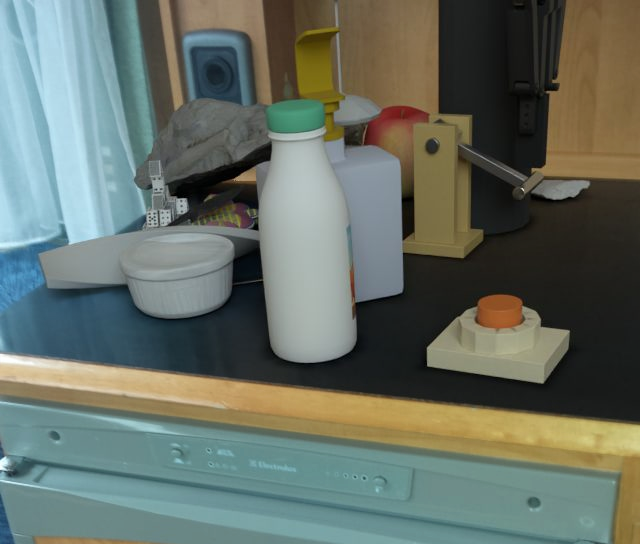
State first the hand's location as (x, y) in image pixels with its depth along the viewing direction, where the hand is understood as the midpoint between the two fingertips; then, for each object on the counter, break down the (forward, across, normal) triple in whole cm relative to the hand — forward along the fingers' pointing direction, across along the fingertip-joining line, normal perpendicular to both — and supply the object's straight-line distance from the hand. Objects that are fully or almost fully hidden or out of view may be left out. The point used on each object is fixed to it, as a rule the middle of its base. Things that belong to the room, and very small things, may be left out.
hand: (530, 165), depth 99 cm
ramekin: (+9, +23, -28) cm, 37 cm away
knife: (+9, +18, -24) cm, 31 cm away
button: (+6, +25, +6) cm, 26 cm away
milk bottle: (+9, +28, -10) cm, 31 cm away
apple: (+9, -16, -21) cm, 27 cm away
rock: (-3, -8, -31) cm, 32 cm away
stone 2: (+9, -20, -3) cm, 23 cm away
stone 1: (+5, -7, -40) cm, 41 cm away
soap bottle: (+9, +17, -14) cm, 23 cm away
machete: (+5, +8, -35) cm, 36 cm away
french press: (+9, +3, -20) cm, 22 cm away
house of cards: (+9, +3, -41) cm, 42 cm away
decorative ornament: (+7, +1, -31) cm, 32 cm away
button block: (+9, +25, +6) cm, 27 cm away
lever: (+1, 0, -5) cm, 6 cm away
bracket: (+9, 0, -9) cm, 13 cm away
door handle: (+5, +19, -31) cm, 36 cm away
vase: (+9, -9, -8) cm, 15 cm away
